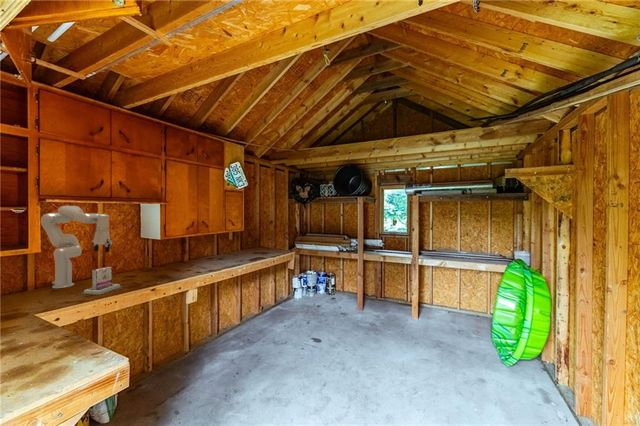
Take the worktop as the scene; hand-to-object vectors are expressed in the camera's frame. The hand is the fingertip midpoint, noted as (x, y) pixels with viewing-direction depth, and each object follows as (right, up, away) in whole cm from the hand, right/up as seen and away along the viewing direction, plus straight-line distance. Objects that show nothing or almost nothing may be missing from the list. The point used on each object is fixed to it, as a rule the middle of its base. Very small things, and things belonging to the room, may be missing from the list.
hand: (101, 251), depth 205 cm
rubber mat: (+4, -29, -5) cm, 30 cm away
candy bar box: (+4, -29, -5) cm, 30 cm away
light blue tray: (+4, -29, -5) cm, 30 cm away
